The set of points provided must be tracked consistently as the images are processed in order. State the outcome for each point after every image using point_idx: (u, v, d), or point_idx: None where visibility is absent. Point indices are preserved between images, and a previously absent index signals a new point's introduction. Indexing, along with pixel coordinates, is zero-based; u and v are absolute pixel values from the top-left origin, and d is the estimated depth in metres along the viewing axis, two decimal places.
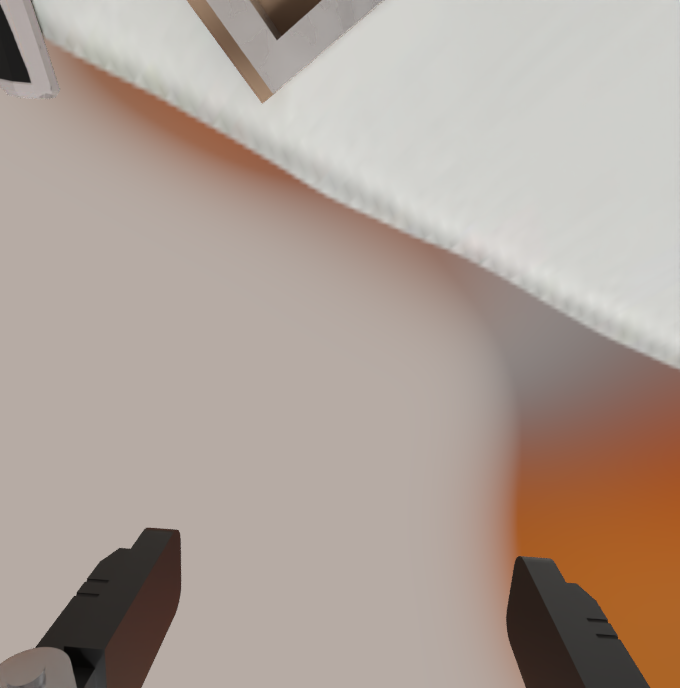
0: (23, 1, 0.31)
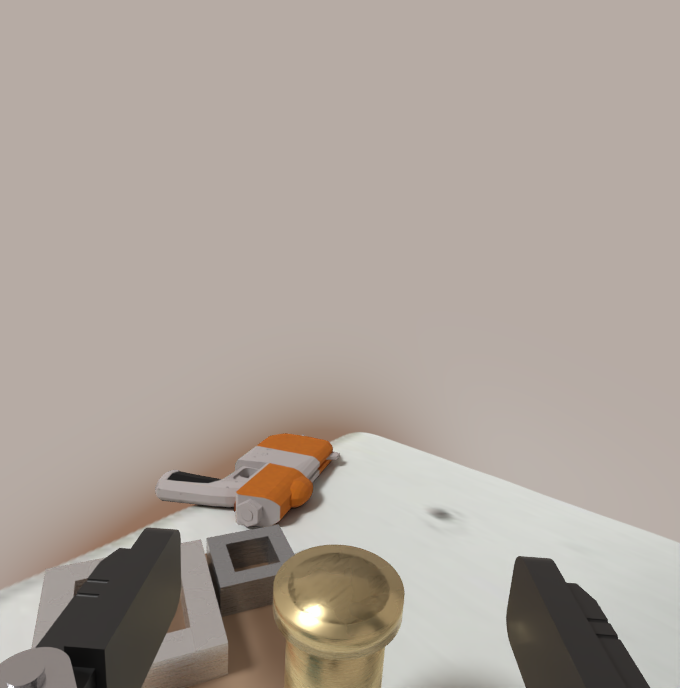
0: (203, 495, 0.52)
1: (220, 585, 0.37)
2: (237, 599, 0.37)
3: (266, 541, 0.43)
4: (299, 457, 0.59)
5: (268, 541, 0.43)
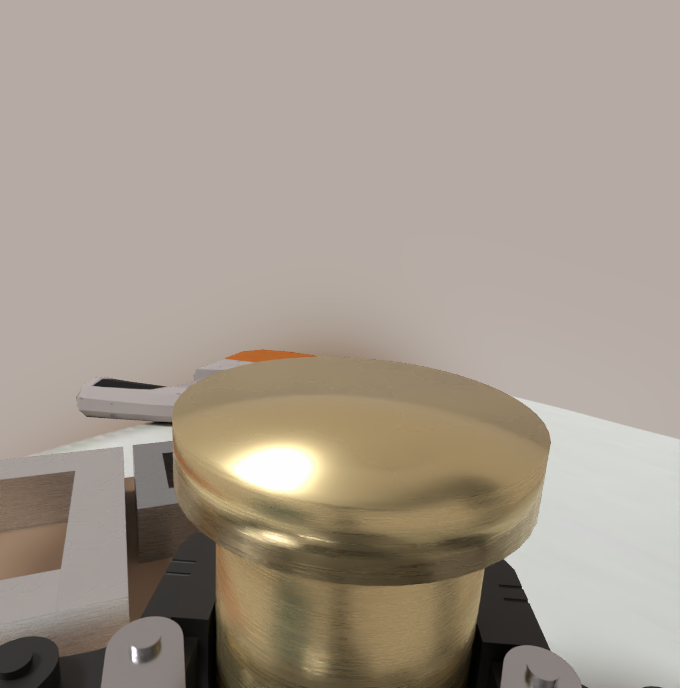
0: (143, 404, 0.36)
1: (138, 506, 0.21)
2: (170, 532, 0.21)
3: None
4: None
5: None
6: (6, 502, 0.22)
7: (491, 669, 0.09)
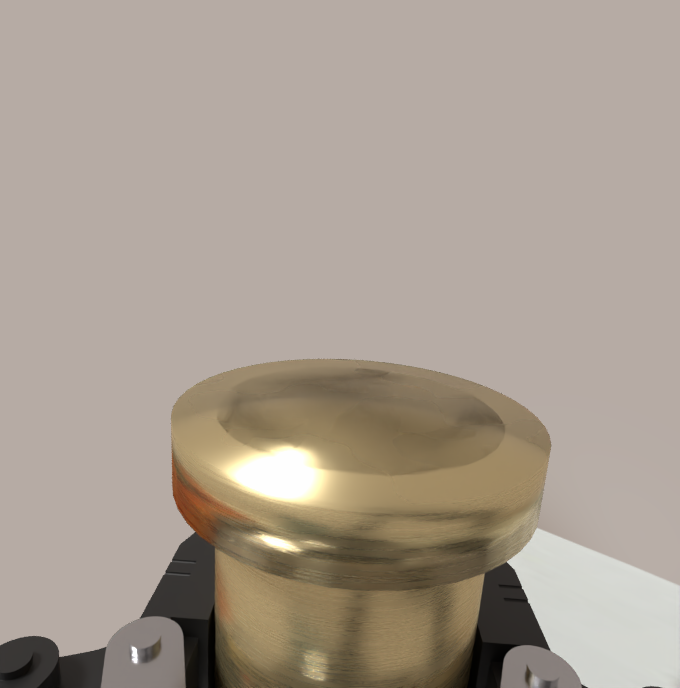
0: None
1: None
2: None
3: None
4: None
5: None
6: None
7: (491, 669, 0.09)
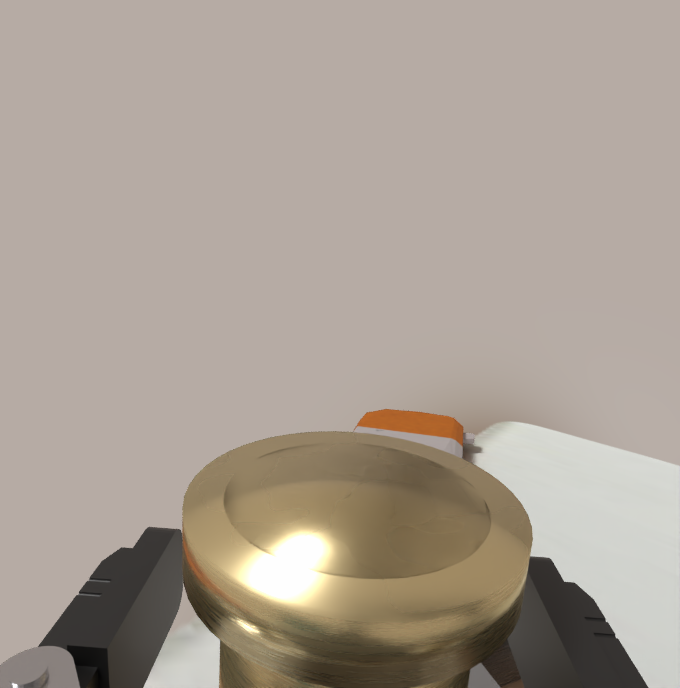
0: None
1: None
2: None
3: None
4: (433, 439, 0.38)
5: None
6: None
7: None
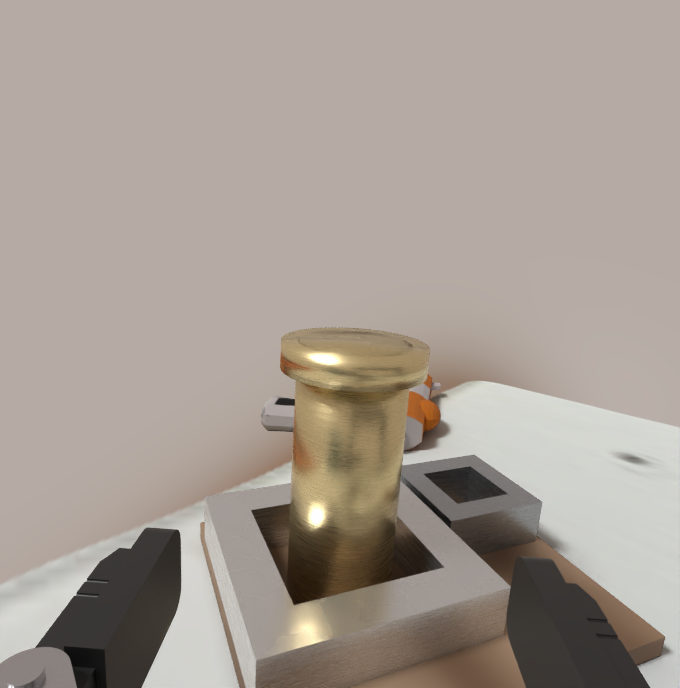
0: None
1: (449, 518, 0.27)
2: (468, 539, 0.27)
3: (468, 473, 0.33)
4: None
5: (471, 473, 0.32)
6: None
7: None
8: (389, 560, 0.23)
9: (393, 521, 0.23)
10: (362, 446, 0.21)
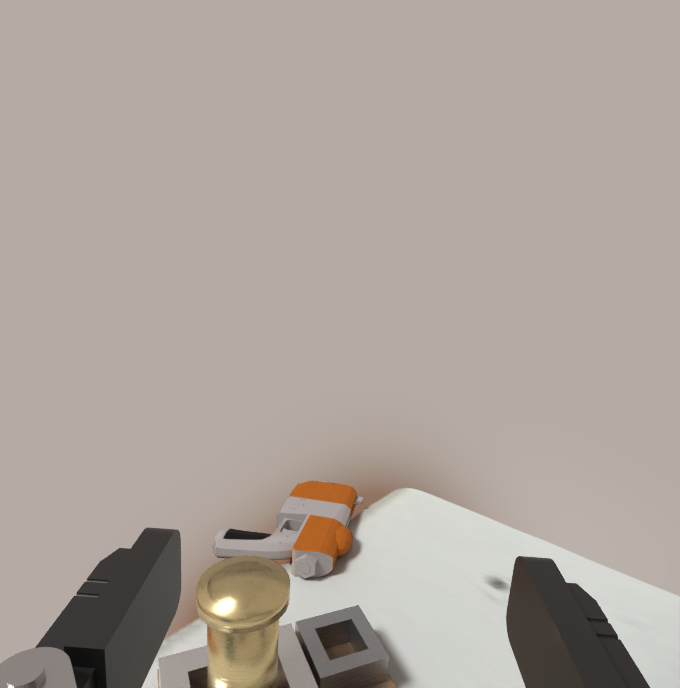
0: (259, 551, 0.57)
1: (319, 675, 0.40)
2: (334, 687, 0.41)
3: (349, 623, 0.46)
4: (332, 506, 0.66)
5: (351, 624, 0.46)
6: None
7: None
8: None
9: None
10: (245, 657, 0.34)
